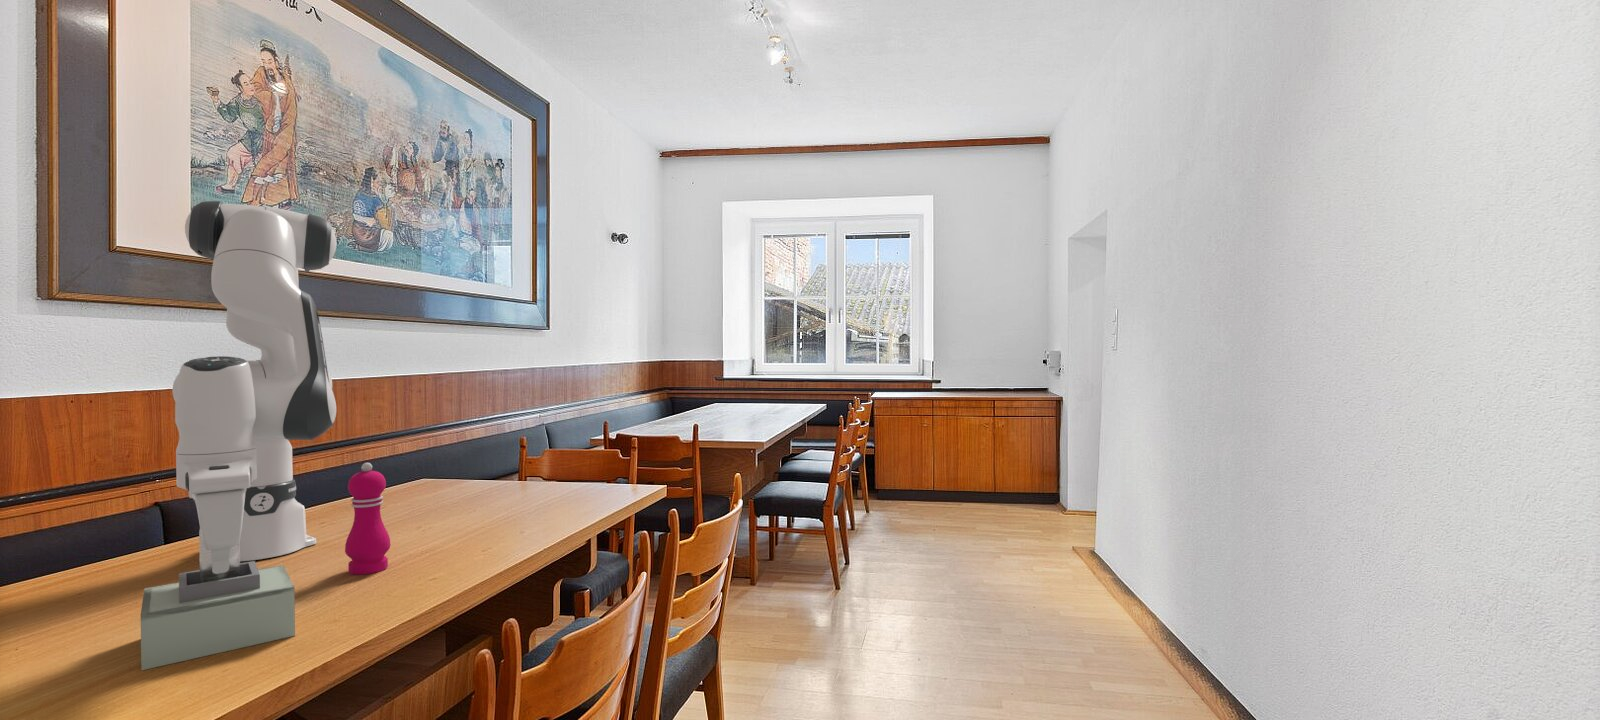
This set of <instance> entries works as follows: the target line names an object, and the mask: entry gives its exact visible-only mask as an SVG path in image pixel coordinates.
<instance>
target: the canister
mask: <svg viewBox="0 0 1600 720" xmlns="http://www.w3.org/2000/svg"><path fill="white" fill-rule="evenodd" d="M198 531H199V533H198V535H199V536H198V539H199V540H198V541H199V546H198V547H199V548H198V549H199V558H200V561H199V570H200V583H204V582H210V581H216V580H222V579H228V578H233V577H239V576H240V563H241V561H240V541H239V544H238V545H237V546H233V547H230V555H229V570H228V571H227V572H224V573H218V574H214V573H213V572H212V557H211V550H206V549H205V547H204V544H203V540H202V535H201V530H200V529H199V530H198Z"/></svg>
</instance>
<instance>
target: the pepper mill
mask: <svg viewBox="0 0 1600 720" xmlns="http://www.w3.org/2000/svg"><path fill="white" fill-rule="evenodd" d="M360 468H361V471H359V472H357V473H355V474H354V475H352V476H351V477H350V479H349V480H348V484H347V491H348V492H349V494H350V495H351V496H352V497H353V498H352V499H351V500H350V501H351V505H350V506H351V507H352V508H353V510H354V511H353V512H354V516H353V524H352V527H351V529H350V530H349V533H348V535H347V539H346V541H345V546H344V547H345V548H344V553H345V555H346V556H347V557H348V558H349V559H351V560H350V561H349V562H348V564H347V565H348V573H349V574H350V575H353V576H354V575H357V576H358V575H370V574H374V573H375V574H376V573H378V572H381V571H384V570H386V569H387V568H388V567H389V560H388V559H389V558H388V556H386V555H385V554H387V552H389V550H390V548H391V538H390V534H389V532H388V530H387V529H386V527H385V525H384V522H383V520H382V515H381V507H382V504H383V503H384V501H383V498H384V496H383V495H382V493H383V492H384V491H385V489H386V488H387V487H386V486H387V484H386V483H387V482H386V478H385V477H384V475H383V474H382V473H381V472H379V471H377V470H372V469H373V465H372V464H371V463H370V462H364V463H363V464H362V465H361V467H360Z"/></svg>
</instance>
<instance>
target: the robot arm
mask: <svg viewBox="0 0 1600 720" xmlns="http://www.w3.org/2000/svg"><path fill="white" fill-rule="evenodd" d="M184 233H185V237H186V240H187V242H188V244H189V247H190V249H191V250H192V251H193V252H194V253H195V254H196V255H198V256H200V257H203V258H205V259H210V260H212V261H213V262H212V267H211V279H210V281H211V283H210V284H211V290H212V292H213V294H214V296H215V298H216V299H217V301H218V302H219V303H221V305H222V306H223V307H225V308H226V321H225V324H226V325H225V326H226V329H227V331H228V333H229V334H230V335H231V336H232V337H233V338H235V339H236V340H238V341H240V342H242V343H245V344H247V345H249V346H252V347H254V348H257V349H259V350H260V352H261V353H260V355H261V357H260V359H256V360H246V359H244V358H241V357H236V356H207V357H198V358H195V359H193V358H192V359H191V360H188V361H186V362H184V363H182V365H181V366H180V369H179V372H178V374H177V375H176V376H175V378H174V381H173V385H172V389H171V390H172V396H173V400H174V402H175V404H174V405H175V407H174V416H175V417H174V421H175V425H176V427H177V430H178V433H179V436H178V443H177V447H176V448H175V465H176V466H175V470H176V473H175V474H176V480H175V481H176V487H177V488H178V489H179V488H181V489H184V490H186V491H187V492H188V498H189V499H193V501H194V503H195V506H196V507H195V508H196V511H197V518H198V522H199V530H201V535H202V540H203V544H204V547H205V549H206V550H211V557H212V572H213V573H214V574H218V573H224V572H227V571H228V570H229V555H230V547H233V546H237V545H238V544H239V541H240V562H251V561H256V560H258V561H259V560H263V559H269V558H274V557H280V556H283V555H288V554H291V553H293V552H296V551H299V550H302V549H303V548H307V547H309V546H313V545H316V544H317V543H318V542H317V538H316V537H313V536H311V535H308V534H307V524H306V523H307V522H306V510H305V509H306V508H305V505H303V504H302V503H301V502H298V501H297V500H296V498H295V497H296V496H297V492H296V491H297V485H296V480H295V479H294V476H293V475H294V472H293V470H294V469H293V467H294V466H293V461H294V460H293V446H292V444H291V442H290V440H292V441H295V440H296V441H314V440H315V439H317V438H319V437H320V436H322V435H323V434H325V433H326V432H327V431H328V430H330V429H331V428H332V427H333V426H334V425H335V420H336V417H337V403H336V398H335V394H334V391H333V380H332V376H331V374H330V372H329V371H328V366H327V365H328V364H327V357H326V353H325V346H324V340H323V334H322V333H323V332H322V328H321V323H320V316H319V312H318V309H317V306H316V303H315V300H314V299H313V297H312V295H311V294H310V293H307V292H306V291H303V290H301V289H300V286H299V284H300V283H299V282H300V281H299V279H300V278H299V269H303V270H304V273H310V271H317V270H321V269H323V268H325V267H327V266H328V265H329V263H330V261H331V260H332V259H333V258H334V256H335V254H336V250H337V244H338V243H337V236H336V234H335V231H334V229H333V224H331V222H330V221H329V220H328V219H326V218H324V217H322V216H317V215H314V214H312V213H308V214H304V213H300V212H297V211H293V210H289V209H283V208H279V207H273V206H268V205H267V206H260V205H252V204H241V203H224V202H223V201H222V200H221V201H220V200H206V201H200V202H199V203H197V204H196V205H194V206H192V209H191V211H190V212H189V214H188V215H187V217H186V220H185V224H184ZM198 561H199V562H200V557H199V559H198Z"/></svg>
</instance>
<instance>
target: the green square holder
mask: <svg viewBox="0 0 1600 720" xmlns="http://www.w3.org/2000/svg"><path fill="white" fill-rule="evenodd" d="M292 581H293V580H292V579H291V578H290V575H289V574H288V572H287V570H286V568H285V565H284V564H280V565H275V566H269V567H262V568H258V566H257V564H256V560H250V561H244V562H240V576H239V577H233V578H228V579H222V580H216V581H210V582H204V583H200V569H197V570H191V571H183V572H180V573H178V582H175V583H168V584H162V585H157V586H156V585H155V586H152V587H145V588H144V589H143V594H142V595H143V597H142V603H141V609H140V617H139V618H140V656H141V657H140V659H141V671H145V670H149V669H154V668H158V667H162V666H167V665H172V664H176V663H180V662H184V661H189V660H193V659H197V658H198V659H199V658H203V657H207V656H210V655H211V656H212V655H215V654H220V653H224V652H229V651H234V650H238V649H241V648H242V649H243V648H246V647H250V646H256V645H261V644H265V643H269V642H273V641H277V640H282V639H287V638H291V637H295V636H296V611H295V606H296V605H295V602H296V601H295V585H294V584H293V582H292Z"/></svg>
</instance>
